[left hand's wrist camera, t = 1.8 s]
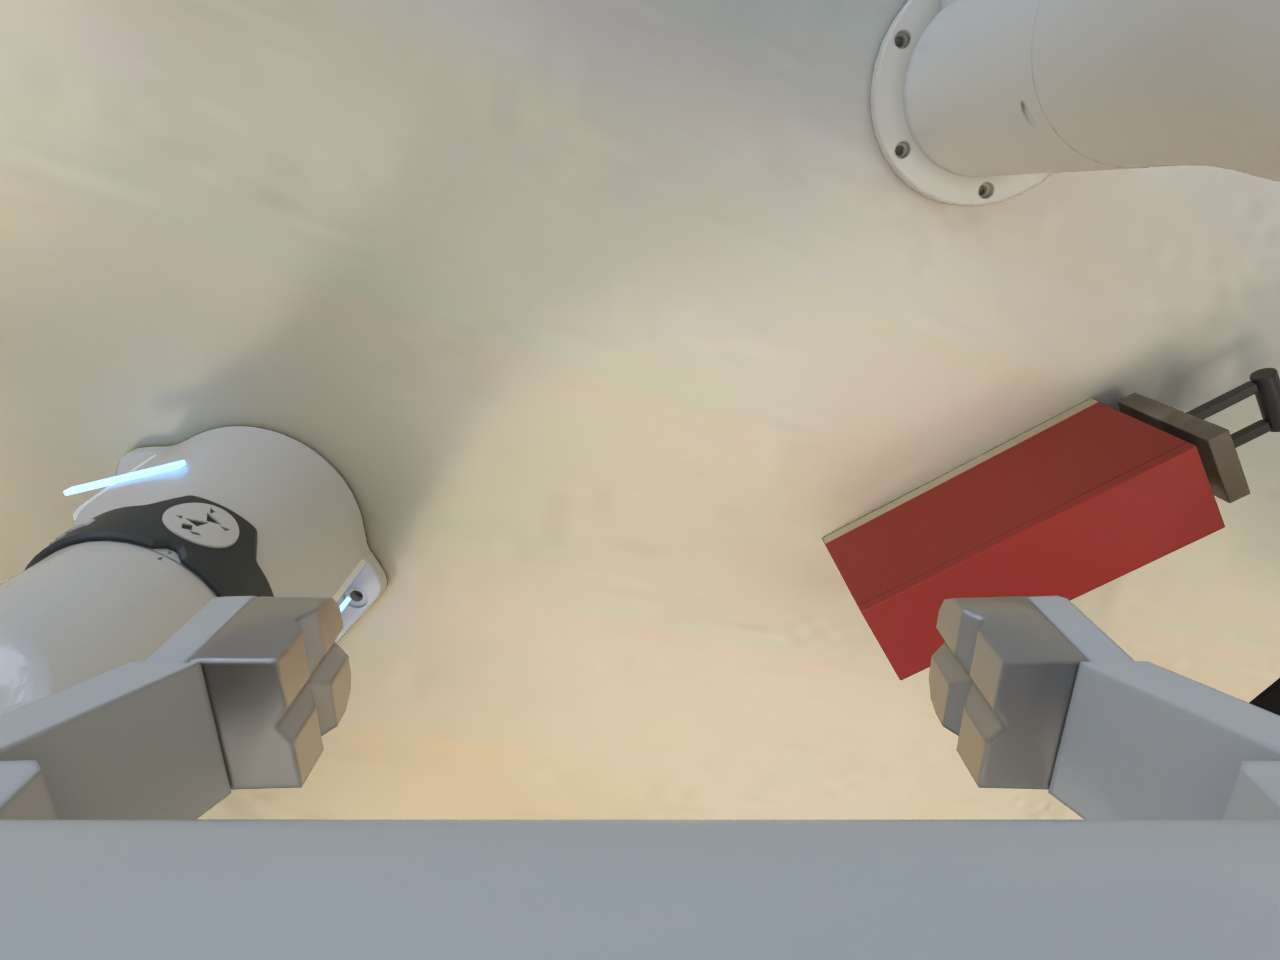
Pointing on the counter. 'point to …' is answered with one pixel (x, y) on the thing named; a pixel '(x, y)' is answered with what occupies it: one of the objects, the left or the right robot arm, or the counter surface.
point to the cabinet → (1025, 525)
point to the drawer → (1216, 428)
